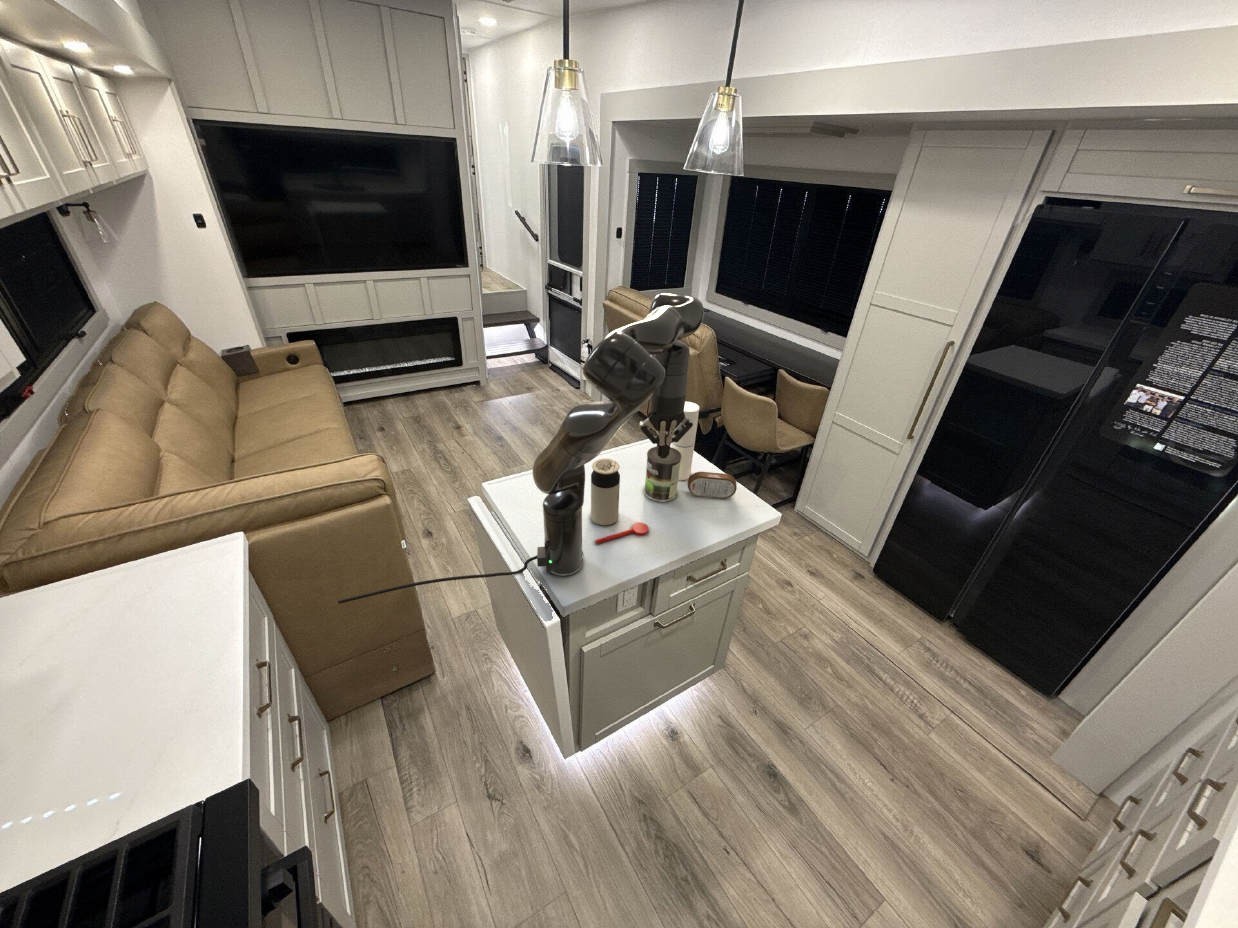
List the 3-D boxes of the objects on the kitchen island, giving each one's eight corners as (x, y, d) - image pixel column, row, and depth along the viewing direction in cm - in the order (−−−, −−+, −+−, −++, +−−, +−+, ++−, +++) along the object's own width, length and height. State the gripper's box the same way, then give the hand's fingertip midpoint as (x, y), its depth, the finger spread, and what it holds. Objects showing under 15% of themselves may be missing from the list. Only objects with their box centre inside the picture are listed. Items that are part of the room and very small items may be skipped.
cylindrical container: (666, 477, 159) (673, 409, 146) (671, 466, 165) (678, 400, 151) (688, 482, 157) (697, 413, 144) (691, 470, 163) (701, 403, 150)
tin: (733, 495, 152) (738, 473, 147) (734, 501, 149) (739, 479, 145) (686, 491, 153) (689, 469, 148) (686, 497, 150) (689, 474, 146)
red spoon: (598, 548, 129) (598, 545, 128) (591, 538, 133) (591, 535, 132) (651, 532, 135) (651, 529, 135) (643, 523, 139) (643, 520, 138)
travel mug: (587, 523, 138) (587, 470, 128) (595, 506, 144) (595, 455, 135) (614, 528, 136) (616, 475, 127) (621, 511, 143) (623, 460, 133)
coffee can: (654, 505, 146) (657, 466, 139) (638, 487, 154) (641, 449, 146) (683, 497, 150) (688, 459, 143) (666, 480, 158) (670, 443, 150)
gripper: (643, 398, 101) (639, 467, 110) (703, 395, 103) (693, 463, 113) (635, 384, 107) (631, 450, 116) (692, 381, 110) (683, 446, 119)
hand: (662, 456), depth 115 cm, fingers closed
